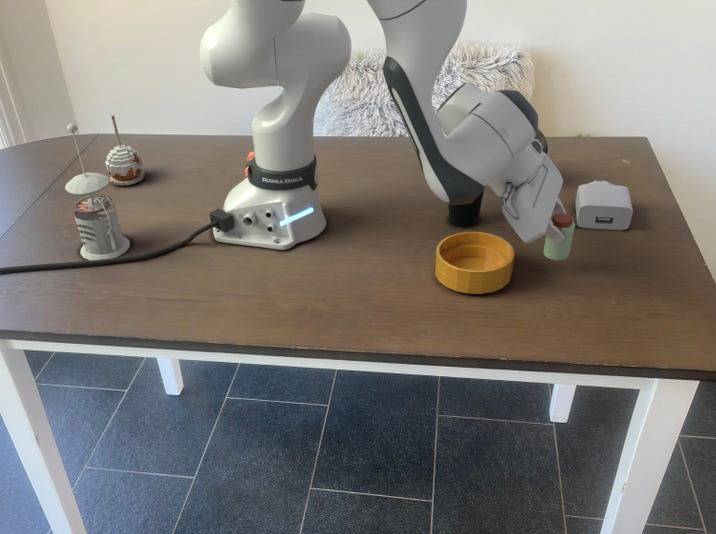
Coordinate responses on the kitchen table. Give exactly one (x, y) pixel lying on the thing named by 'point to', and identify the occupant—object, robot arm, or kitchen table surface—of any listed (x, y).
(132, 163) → the caramel apple
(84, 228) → the french press
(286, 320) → the kitchen table surface
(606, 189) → the charger
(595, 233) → the kitchen table surface
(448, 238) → the bowl
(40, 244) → the kitchen table surface
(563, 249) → the container
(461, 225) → the cup
